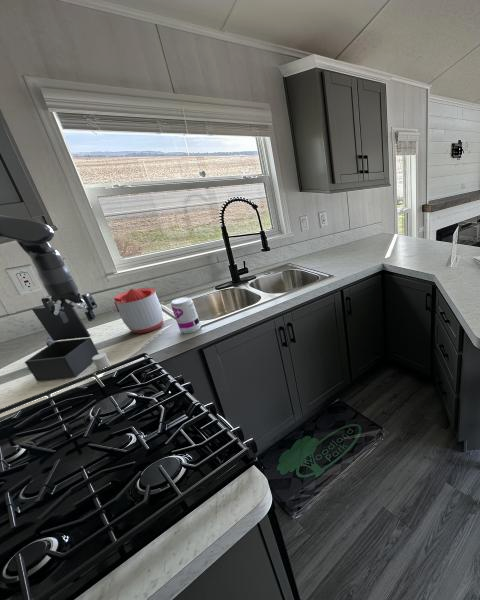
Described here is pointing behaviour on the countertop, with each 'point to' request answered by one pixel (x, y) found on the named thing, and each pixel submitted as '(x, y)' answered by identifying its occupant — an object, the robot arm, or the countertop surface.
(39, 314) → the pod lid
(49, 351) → the black tray box
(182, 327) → the supplement can
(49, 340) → the eagle figurine
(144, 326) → the citrus juicer
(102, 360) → the cylinder
